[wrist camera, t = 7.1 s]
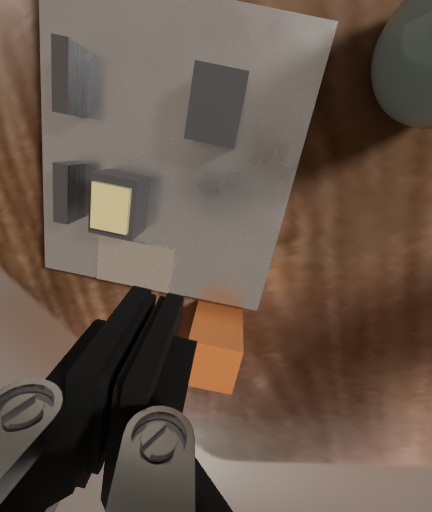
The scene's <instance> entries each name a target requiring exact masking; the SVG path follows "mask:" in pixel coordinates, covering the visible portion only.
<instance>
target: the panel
mask: <svg viewBox="0 0 432 512" xmlns="http://www.w3.org/2000/svg"><path fill="white" fill-rule="evenodd" d="M39 23H40V67H41V111H42V154H43V198H44V242H45V267H47V268H51V269H56V270H61V271H66V272H71V273H76V274H81V275H85V276H90V277H95V278H96V279H101V280H106V281H111V282H116V283H121V284H126V285H130V286H139V287H143V288H148V289H151V290H155V291H160V292H164V293H173V294H178V295H183V296H188V297H193V298H197V299H202V300H207V301H212V302H217V303H222V304H227V305H232V306H236V307H241V308H246V309H251V310H256V311H257V310H258V306H259V302H260V299H261V295H262V292H263V288H264V285H265V281H266V277H267V274H268V270H269V267H270V263H271V260H272V256H273V252H274V249H275V245H276V242H277V238H278V235H279V231H280V228H281V224H282V220H283V217H284V213H285V210H286V206H287V203H288V199H289V195H290V192H291V188H292V185H293V181H294V178H295V174H296V170H297V167H298V163H299V160H300V156H301V153H302V149H303V145H304V142H305V138H306V135H307V131H308V128H309V124H310V121H311V117H312V113H313V110H314V106H315V103H316V99H317V96H318V92H319V88H320V85H321V81H322V78H323V74H324V71H325V67H326V63H327V60H328V56H329V53H330V49H331V46H332V42H333V38H334V35H335V31H336V28H337V24H338V21H334V20H329V19H324V18H319V17H314V16H309V15H304V14H299V13H295V12H290V11H285V10H280V9H275V8H270V7H265V6H260V5H256V4H251V3H246V2H241V1H236V0H39ZM195 60H199V61H204V62H208V63H213V64H218V65H223V66H228V67H233V68H238V69H243V70H247V71H249V78H248V84H247V89H246V94H245V99H244V104H243V109H242V114H241V119H240V124H239V129H238V134H237V139H236V144H235V149H232V148H228V147H223V146H218V145H213V144H208V143H203V142H198V141H193V140H189V139H184V133H185V126H186V119H187V112H188V105H189V98H190V91H191V83H192V76H193V69H194V62H195ZM105 169H114V170H119V171H124V172H129V173H134V174H139V175H144V176H148V177H151V181H150V190H149V199H148V209H147V218H146V227H145V230H144V231H143V232H142V233H141V234H140V235H139V236H137V237H136V238H135V239H134V240H133V241H128V240H123V239H118V238H113V237H108V236H103V235H98V234H93V233H89V232H88V222H89V193H90V172H92V171H98V170H105Z"/></svg>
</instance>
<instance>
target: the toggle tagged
mask: <svg viewBox="0 0 432 512" xmlns="http://www.w3.org/2000/svg"><path fill="white" fill-rule="evenodd" d="M150 181H151V177H148V176H144V175H139V174H134V173H129V172H124V171H119V170H114V169H105V170H98V171H92V172H90V193H89V222H88V232H89V233H93V234H98V235H103V236H108V237H113V238H118V239H123V240H128V241H133V240H134V239H135V238H136V237H137V236H139V235H140V234H141V233H142V232H143V231H144V230H145V227H146V218H147V209H148V199H149V190H150Z"/></svg>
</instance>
